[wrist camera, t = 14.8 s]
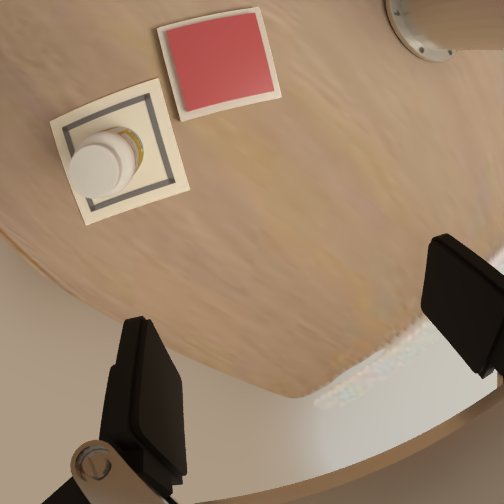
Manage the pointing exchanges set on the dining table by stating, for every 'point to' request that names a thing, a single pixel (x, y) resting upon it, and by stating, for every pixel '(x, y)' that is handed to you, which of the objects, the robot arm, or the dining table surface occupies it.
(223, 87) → the ink pad
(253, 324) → the dining table surface
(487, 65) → the dining table surface
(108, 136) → the supplement bottle
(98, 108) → the marked sheet
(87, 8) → the dining table surface
